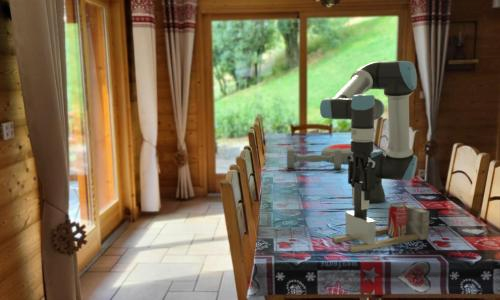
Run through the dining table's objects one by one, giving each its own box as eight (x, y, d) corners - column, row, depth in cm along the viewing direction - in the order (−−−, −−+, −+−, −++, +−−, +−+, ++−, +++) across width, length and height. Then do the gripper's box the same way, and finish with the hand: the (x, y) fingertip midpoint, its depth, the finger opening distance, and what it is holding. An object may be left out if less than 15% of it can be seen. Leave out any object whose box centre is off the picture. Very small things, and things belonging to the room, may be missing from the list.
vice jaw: (343, 233, 167) (344, 179, 163) (353, 231, 168) (354, 178, 165) (366, 245, 155) (367, 187, 151) (376, 243, 156) (378, 186, 153)
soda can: (396, 240, 164) (397, 207, 162) (384, 234, 170) (385, 203, 168) (409, 237, 167) (411, 205, 165) (397, 232, 172) (398, 201, 170)
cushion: (371, 165, 298) (372, 149, 296) (315, 162, 311) (315, 147, 310) (377, 155, 332) (377, 141, 330) (326, 153, 345) (326, 139, 344)
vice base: (330, 240, 165) (330, 213, 164) (400, 227, 178) (401, 202, 176) (353, 253, 153) (354, 224, 151) (428, 238, 165) (429, 211, 163)
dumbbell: (288, 168, 298) (288, 148, 298) (340, 169, 293) (340, 148, 294) (286, 168, 285) (287, 147, 286) (341, 169, 281) (341, 147, 281)
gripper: (338, 138, 162) (337, 202, 166) (369, 144, 146) (367, 215, 150) (355, 136, 165) (354, 199, 169) (388, 142, 149) (385, 212, 153)
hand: (360, 206), depth 160 cm, fingers closed on vice jaw, 4 cm apart
